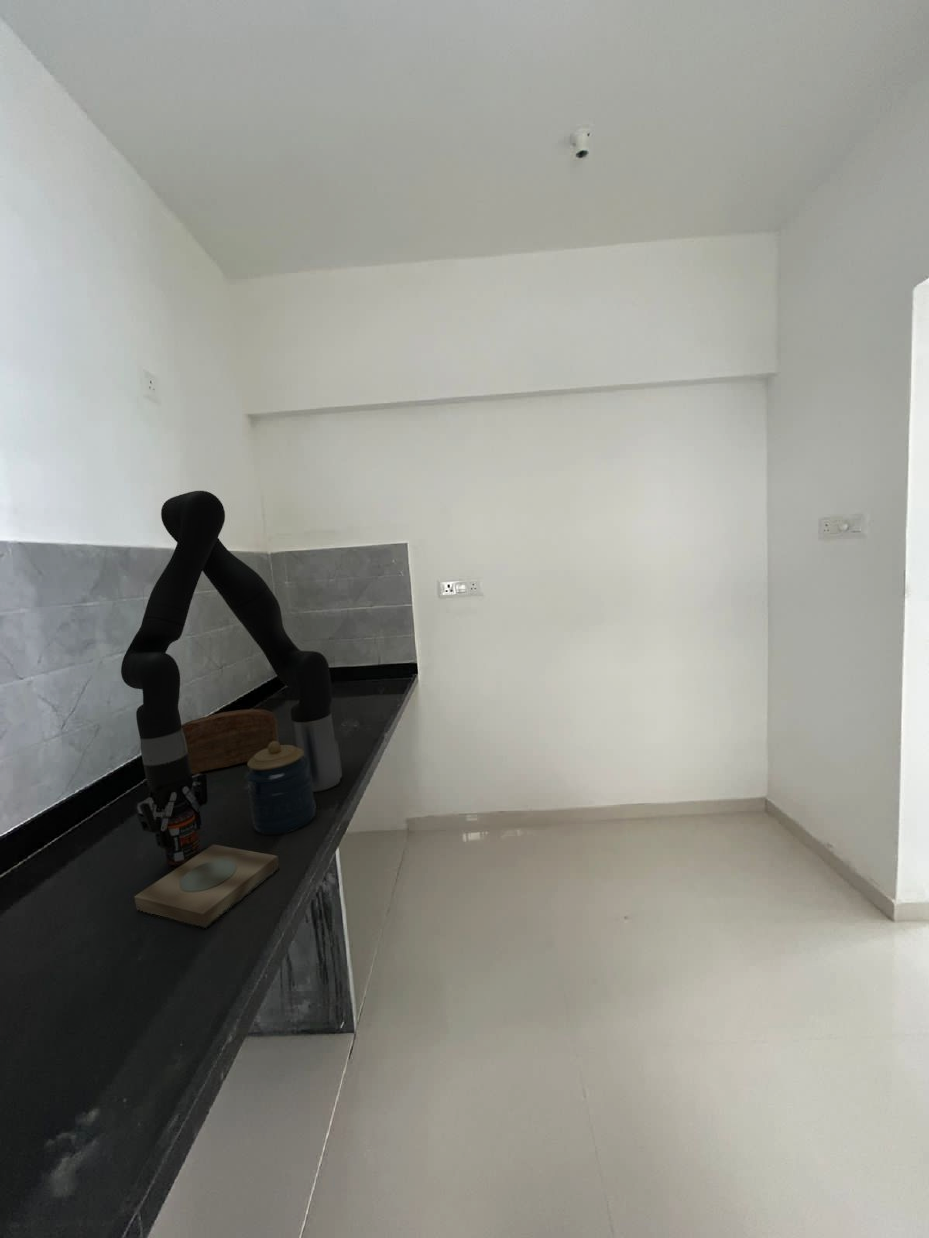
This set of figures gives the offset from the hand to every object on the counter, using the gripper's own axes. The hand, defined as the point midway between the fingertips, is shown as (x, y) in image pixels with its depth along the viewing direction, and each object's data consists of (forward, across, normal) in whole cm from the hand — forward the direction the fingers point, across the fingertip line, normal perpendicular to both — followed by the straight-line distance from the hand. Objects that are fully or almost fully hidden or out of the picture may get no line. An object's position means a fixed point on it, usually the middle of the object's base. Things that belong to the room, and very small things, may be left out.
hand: (181, 838), depth 105 cm
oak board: (+4, -6, -14) cm, 16 cm away
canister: (+4, +17, -10) cm, 20 cm away
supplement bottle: (+4, 0, 0) cm, 4 cm away
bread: (+4, +41, +32) cm, 52 cm away
